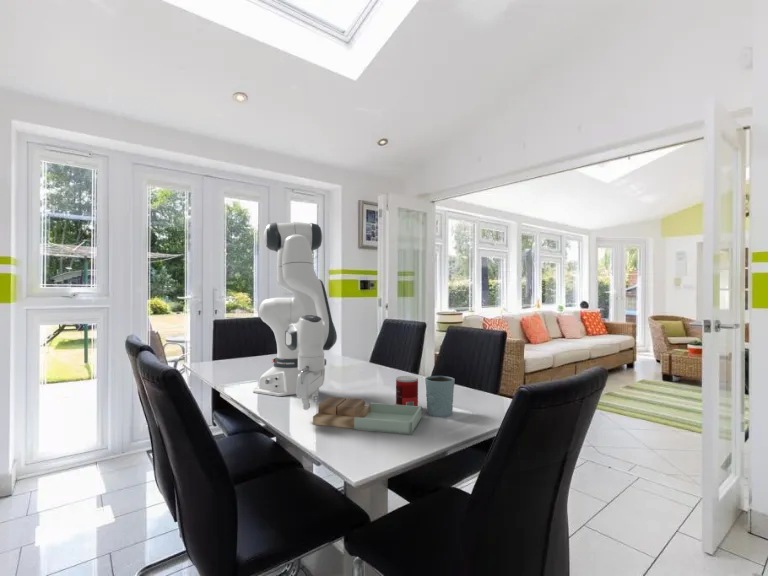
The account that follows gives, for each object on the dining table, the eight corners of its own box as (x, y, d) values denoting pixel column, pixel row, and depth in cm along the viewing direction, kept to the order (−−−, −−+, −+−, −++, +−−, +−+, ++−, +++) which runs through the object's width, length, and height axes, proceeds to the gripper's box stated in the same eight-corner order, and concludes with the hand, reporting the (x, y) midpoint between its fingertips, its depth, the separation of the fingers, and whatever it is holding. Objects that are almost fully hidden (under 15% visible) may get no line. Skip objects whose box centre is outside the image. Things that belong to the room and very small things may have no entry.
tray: (354, 429, 128) (354, 417, 128) (370, 412, 145) (370, 402, 145) (411, 434, 124) (411, 422, 124) (421, 416, 141) (421, 406, 141)
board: (313, 424, 133) (313, 416, 133) (332, 410, 148) (332, 403, 148) (355, 428, 129) (355, 420, 129) (370, 413, 144) (370, 406, 144)
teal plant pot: (426, 417, 140) (426, 381, 140) (423, 408, 150) (423, 375, 150) (456, 417, 140) (456, 381, 140) (452, 408, 150) (452, 375, 150)
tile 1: (318, 413, 135) (318, 404, 135) (330, 405, 145) (330, 396, 145) (335, 415, 134) (335, 406, 134) (346, 406, 143) (346, 398, 143)
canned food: (421, 407, 151) (421, 377, 151) (410, 413, 145) (410, 381, 145) (403, 404, 156) (403, 374, 156) (391, 409, 149) (391, 378, 149)
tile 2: (337, 415, 134) (337, 406, 134) (348, 406, 143) (348, 398, 143) (355, 417, 132) (355, 407, 132) (364, 408, 142) (364, 399, 142)
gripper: (311, 370, 131) (310, 414, 131) (327, 359, 151) (327, 397, 151) (291, 369, 131) (291, 413, 131) (310, 358, 152) (310, 397, 152)
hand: (310, 405), depth 141 cm, fingers open, 8 cm apart
